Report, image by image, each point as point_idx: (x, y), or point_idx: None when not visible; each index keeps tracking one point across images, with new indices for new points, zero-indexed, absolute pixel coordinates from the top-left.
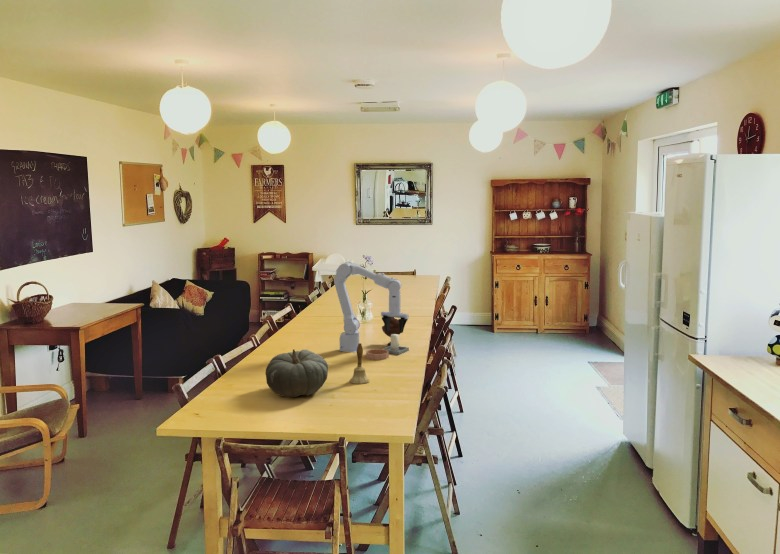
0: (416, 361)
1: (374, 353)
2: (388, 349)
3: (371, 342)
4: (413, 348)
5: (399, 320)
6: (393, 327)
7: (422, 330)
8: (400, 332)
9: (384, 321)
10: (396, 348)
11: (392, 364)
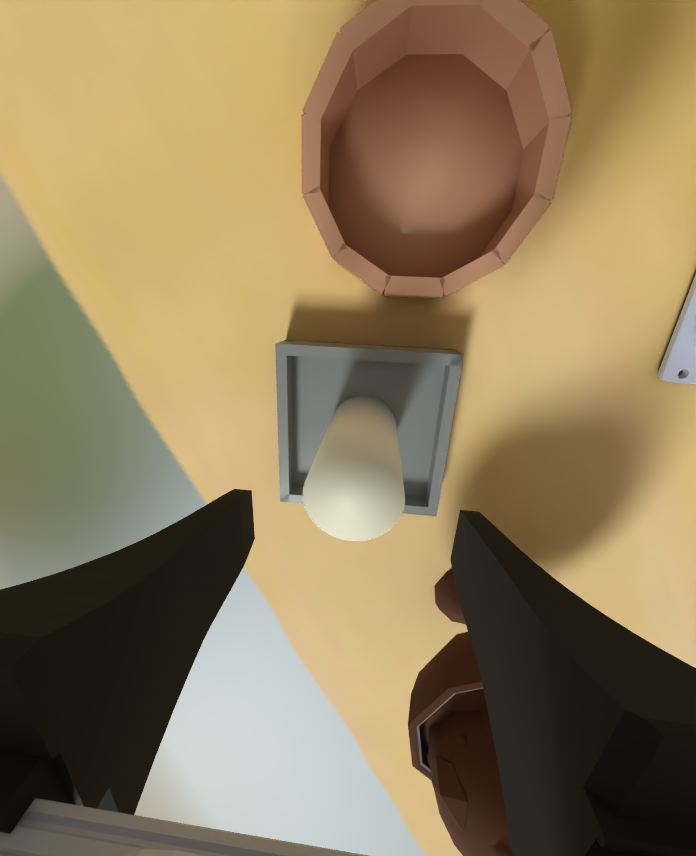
0: (84, 257)
1: (487, 247)
2: (429, 446)
3: (644, 599)
4: (302, 562)
5: (12, 626)
6: (488, 721)
7: (434, 843)
8: (235, 491)
9: (600, 635)
10: (333, 416)
11: (175, 17)
